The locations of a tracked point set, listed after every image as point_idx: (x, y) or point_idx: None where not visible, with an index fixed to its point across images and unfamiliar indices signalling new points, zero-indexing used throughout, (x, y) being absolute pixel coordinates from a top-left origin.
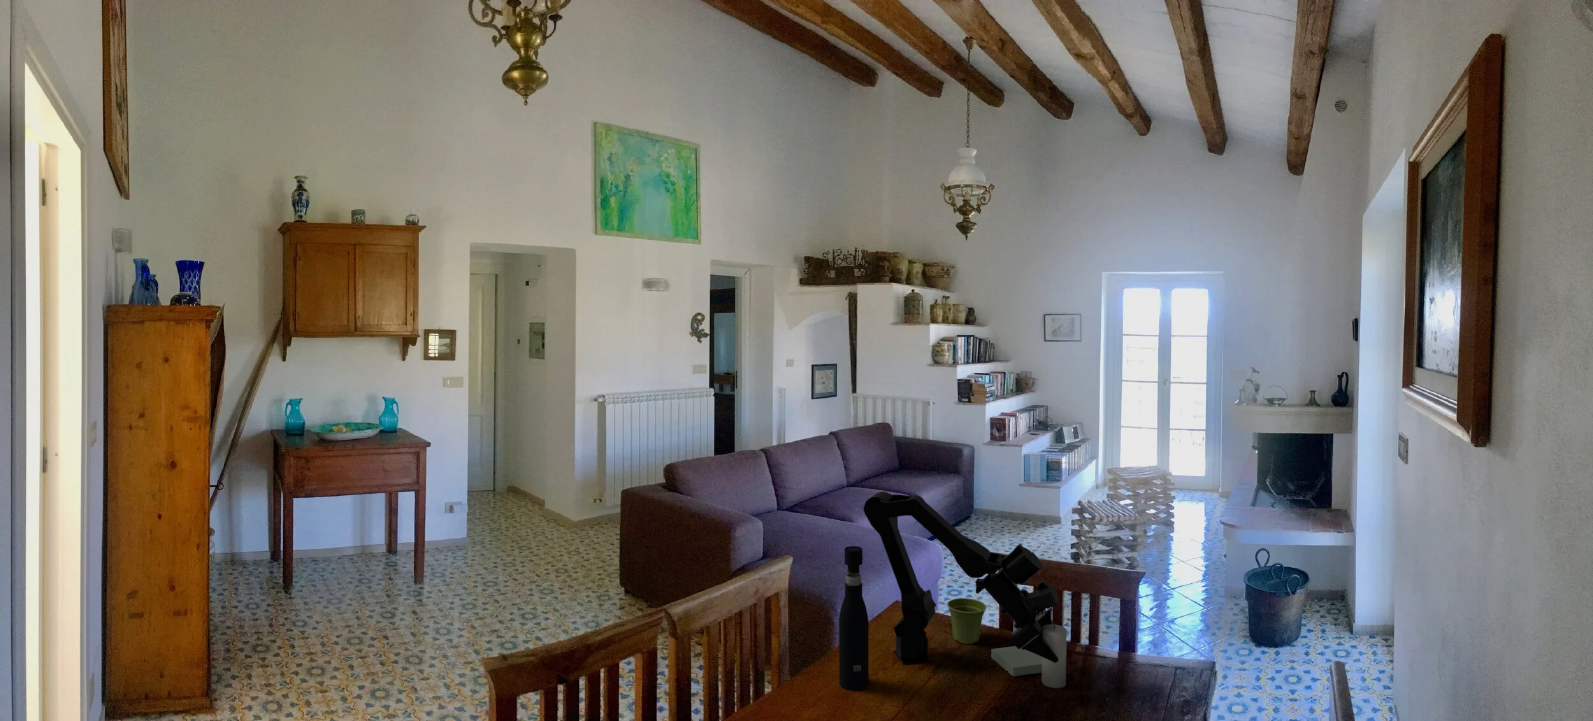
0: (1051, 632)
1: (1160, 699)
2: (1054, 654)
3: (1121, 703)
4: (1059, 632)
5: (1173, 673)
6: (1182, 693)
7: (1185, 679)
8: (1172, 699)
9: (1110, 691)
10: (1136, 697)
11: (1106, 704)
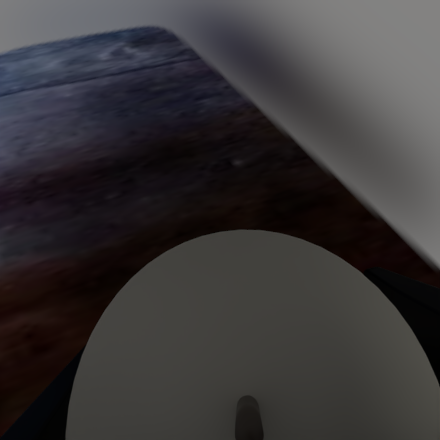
0: (417, 392)
1: (163, 76)
2: (424, 283)
3: (244, 127)
4: (319, 287)
5: (3, 96)
6: (105, 56)
7: (27, 71)
8: (147, 60)
9: (191, 169)
10: (185, 113)
11: (277, 151)
